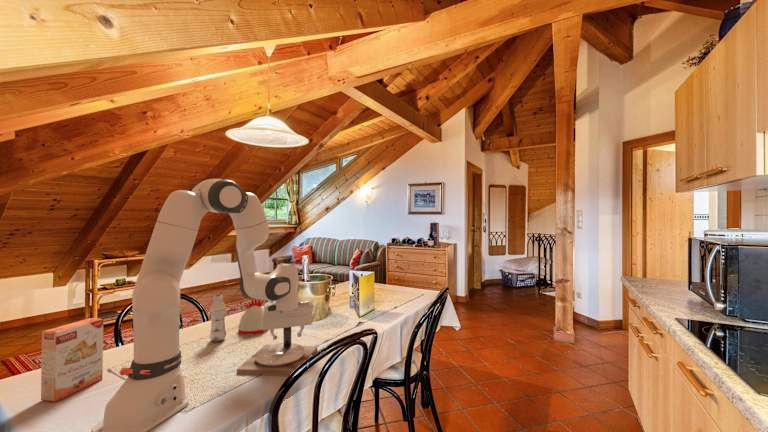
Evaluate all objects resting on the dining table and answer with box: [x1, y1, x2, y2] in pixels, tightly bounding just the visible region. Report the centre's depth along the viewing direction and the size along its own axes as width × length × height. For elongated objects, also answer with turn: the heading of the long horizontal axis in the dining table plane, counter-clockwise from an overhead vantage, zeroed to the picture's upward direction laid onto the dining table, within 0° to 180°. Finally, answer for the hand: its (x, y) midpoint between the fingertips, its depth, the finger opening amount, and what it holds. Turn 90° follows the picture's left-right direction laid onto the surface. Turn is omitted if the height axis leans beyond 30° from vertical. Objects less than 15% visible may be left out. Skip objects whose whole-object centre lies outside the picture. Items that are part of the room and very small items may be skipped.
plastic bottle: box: [209, 294, 227, 343], centre depth 145 cm, size 6×7×20 cm
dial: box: [254, 327, 304, 367], centre depth 124 cm, size 18×18×8 cm
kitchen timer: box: [238, 299, 267, 335], centre depth 159 cm, size 14×14×15 cm
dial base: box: [236, 344, 318, 377], centre depth 124 cm, size 22×22×2 cm
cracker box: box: [40, 317, 104, 403], centre depth 104 cm, size 14×6×21 cm, turn 170°
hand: (287, 337), depth 131 cm, fingers open, 8 cm apart
